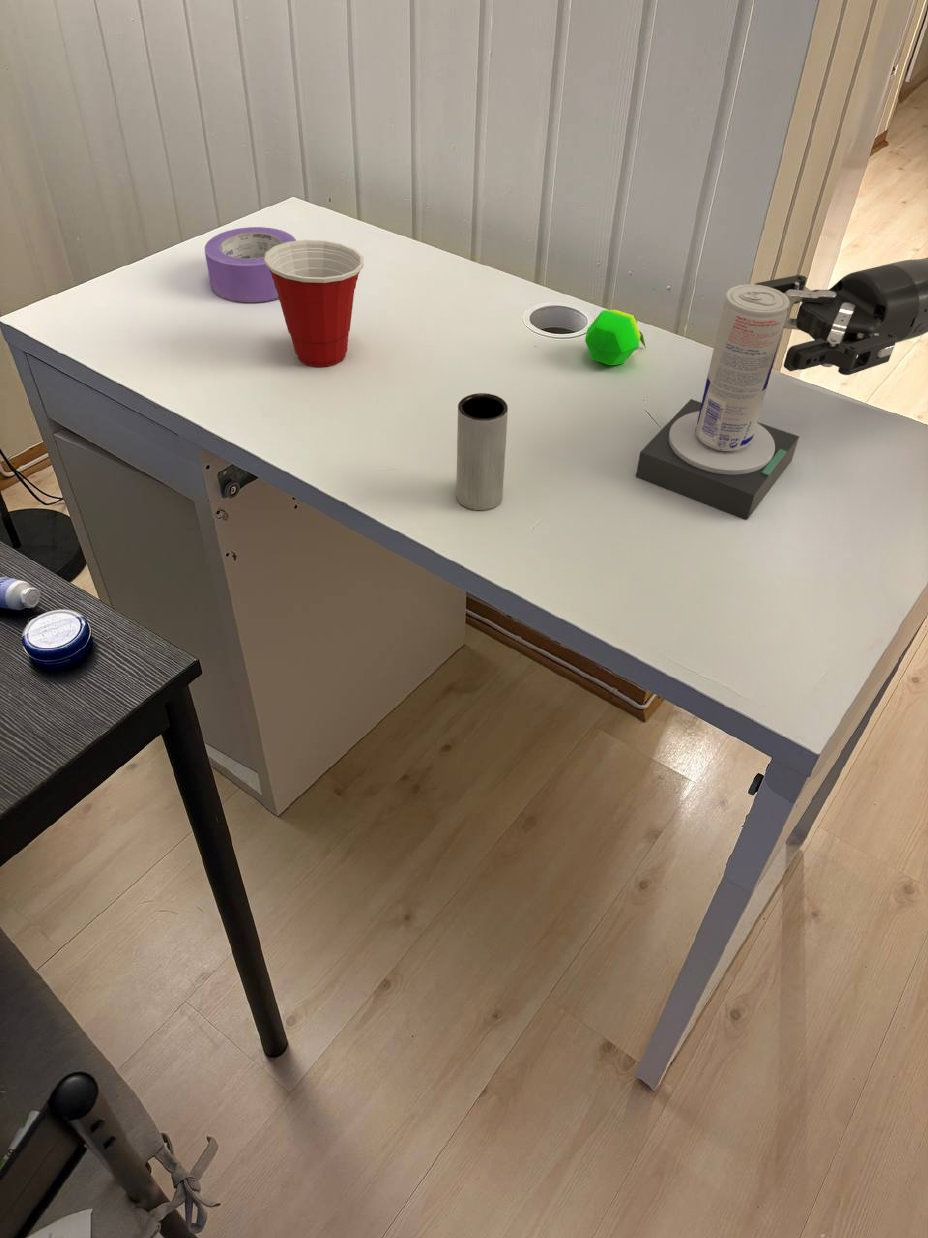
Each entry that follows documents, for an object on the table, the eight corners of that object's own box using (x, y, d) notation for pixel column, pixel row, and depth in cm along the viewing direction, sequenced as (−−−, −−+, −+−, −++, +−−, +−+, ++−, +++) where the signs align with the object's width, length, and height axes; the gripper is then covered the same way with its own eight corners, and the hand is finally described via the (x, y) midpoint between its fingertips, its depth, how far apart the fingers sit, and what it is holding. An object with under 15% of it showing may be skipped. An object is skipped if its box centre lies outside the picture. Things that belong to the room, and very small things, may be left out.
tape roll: (210, 265, 128) (204, 227, 125) (298, 259, 130) (294, 223, 126) (210, 306, 120) (203, 267, 117) (304, 300, 122) (300, 262, 118)
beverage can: (762, 448, 94) (803, 305, 84) (713, 459, 93) (749, 315, 82) (731, 418, 98) (766, 277, 87) (683, 428, 96) (714, 287, 86)
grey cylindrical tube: (502, 511, 92) (508, 420, 85) (455, 510, 92) (457, 419, 85) (502, 483, 95) (507, 393, 88) (456, 482, 95) (458, 391, 88)
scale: (791, 460, 99) (801, 431, 96) (747, 520, 92) (755, 490, 89) (685, 422, 104) (692, 393, 101) (635, 476, 97) (640, 446, 94)
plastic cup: (387, 358, 112) (383, 259, 103) (310, 388, 107) (299, 286, 98) (335, 322, 118) (327, 225, 109) (259, 350, 113) (245, 250, 104)
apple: (606, 313, 105) (641, 281, 111) (564, 335, 110) (600, 303, 115) (637, 368, 107) (670, 335, 113) (595, 388, 112) (629, 355, 118)
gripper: (851, 237, 95) (719, 266, 90) (961, 299, 86) (821, 335, 81) (829, 308, 101) (704, 339, 95) (930, 373, 92) (797, 411, 86)
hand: (758, 337), depth 88 cm, fingers open, 8 cm apart
